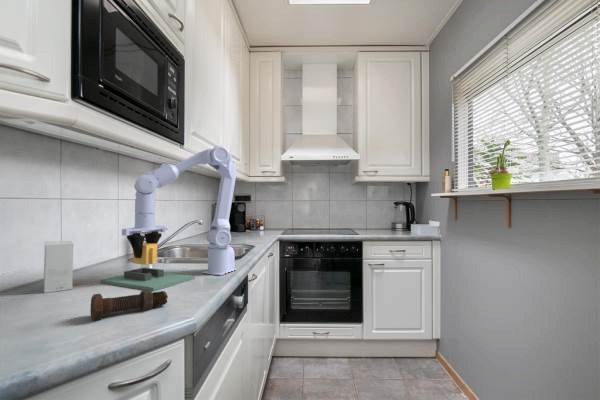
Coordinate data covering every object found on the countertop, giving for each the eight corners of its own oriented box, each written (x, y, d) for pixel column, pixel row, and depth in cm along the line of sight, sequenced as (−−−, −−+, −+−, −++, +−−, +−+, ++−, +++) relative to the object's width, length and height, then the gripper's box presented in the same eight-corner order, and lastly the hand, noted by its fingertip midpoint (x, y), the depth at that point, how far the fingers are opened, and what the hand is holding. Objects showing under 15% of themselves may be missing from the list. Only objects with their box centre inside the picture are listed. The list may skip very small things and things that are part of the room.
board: (145, 272, 111) (145, 264, 111) (194, 278, 103) (194, 269, 103) (100, 283, 97) (100, 273, 97) (153, 291, 88) (153, 280, 88)
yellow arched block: (143, 261, 103) (143, 242, 104) (159, 262, 101) (159, 243, 101) (132, 263, 100) (132, 244, 100) (148, 265, 97) (148, 245, 97)
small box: (72, 289, 89) (73, 243, 90) (43, 293, 85) (44, 244, 86) (70, 283, 96) (71, 240, 96) (43, 287, 92) (44, 242, 92)
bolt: (166, 314, 76) (91, 327, 66) (161, 299, 79) (89, 309, 69) (171, 295, 74) (95, 306, 64) (165, 281, 77) (92, 289, 67)
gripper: (154, 212, 109) (154, 252, 109) (115, 213, 96) (114, 259, 95) (170, 213, 106) (169, 254, 106) (131, 214, 93) (130, 261, 93)
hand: (144, 256), depth 101 cm, fingers closed on yellow arched block, 4 cm apart
